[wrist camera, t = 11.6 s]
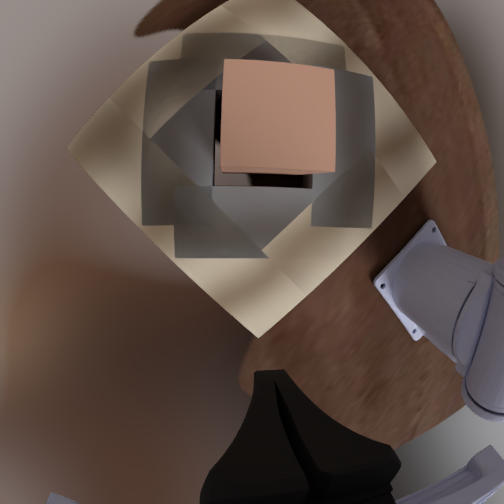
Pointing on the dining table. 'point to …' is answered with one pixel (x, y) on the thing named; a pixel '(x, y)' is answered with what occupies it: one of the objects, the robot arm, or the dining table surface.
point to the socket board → (249, 197)
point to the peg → (277, 118)
